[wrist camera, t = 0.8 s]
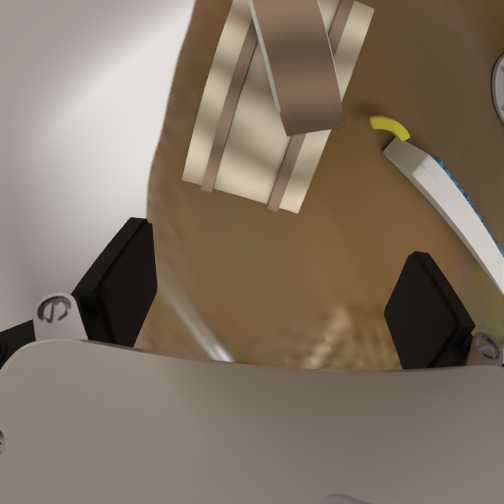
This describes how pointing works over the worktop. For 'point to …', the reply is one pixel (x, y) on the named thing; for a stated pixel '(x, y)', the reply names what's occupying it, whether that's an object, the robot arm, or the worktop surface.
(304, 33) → the brown rectangular block
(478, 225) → the white and blue box
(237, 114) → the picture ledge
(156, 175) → the worktop surface
